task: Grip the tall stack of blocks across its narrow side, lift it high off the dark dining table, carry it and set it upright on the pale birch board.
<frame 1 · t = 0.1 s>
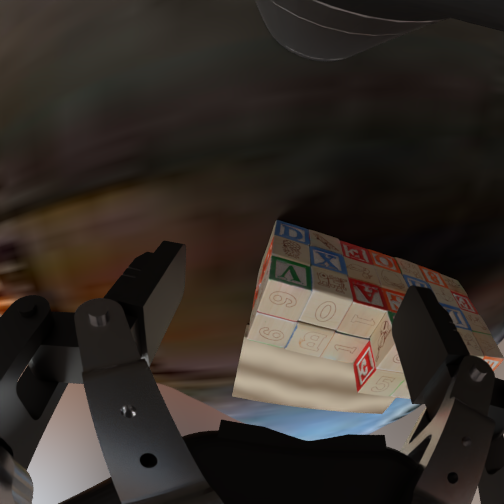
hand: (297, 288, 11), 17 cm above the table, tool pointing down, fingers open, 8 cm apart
stack of blocks: (367, 275, 31), on the table
birch board: (324, 372, 38), on the table
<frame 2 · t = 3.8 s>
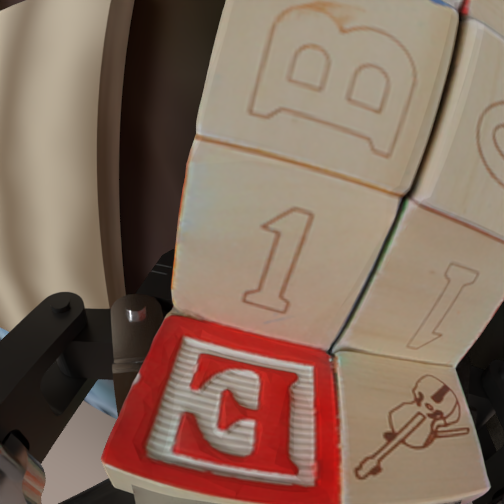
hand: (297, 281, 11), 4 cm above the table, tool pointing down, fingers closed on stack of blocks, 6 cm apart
stack of blocks: (300, 223, 14), on the table, touching gripper
birch board: (36, 193, 15), on the table
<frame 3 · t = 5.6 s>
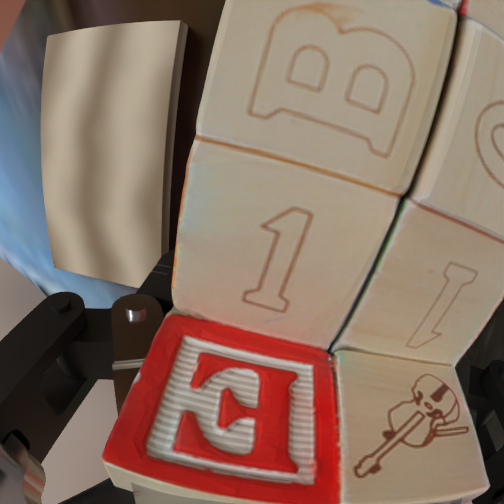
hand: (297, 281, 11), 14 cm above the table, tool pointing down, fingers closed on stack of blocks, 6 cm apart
stack of blocks: (300, 223, 14), point 10 cm above the table, touching gripper
birch board: (106, 156, 24), on the table
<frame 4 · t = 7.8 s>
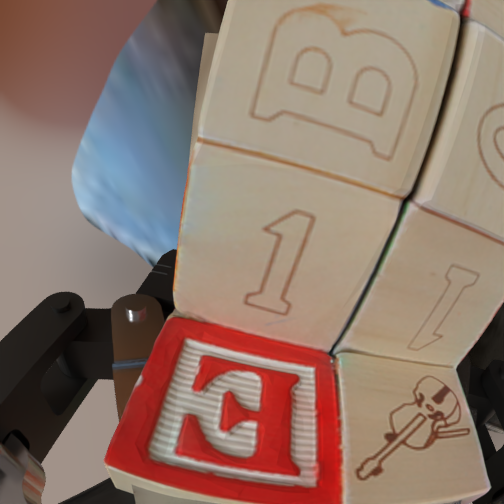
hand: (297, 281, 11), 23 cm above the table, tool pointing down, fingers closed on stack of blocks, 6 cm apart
stack of blocks: (301, 224, 14), point 19 cm above the table, touching gripper
birch board: (254, 146, 31), on the table
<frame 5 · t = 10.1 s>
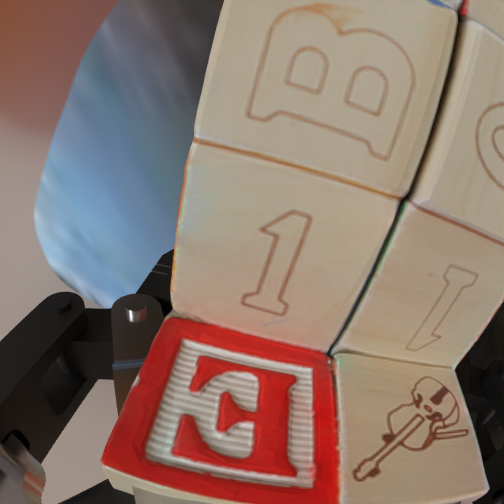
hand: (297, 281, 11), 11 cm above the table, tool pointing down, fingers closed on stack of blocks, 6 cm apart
stack of blocks: (300, 224, 14), point 7 cm above the table, touching gripper
when the fingers open (7 cm above the table, at t = 11.9 s): stack of blocks drops 1 cm, resting on birch board.
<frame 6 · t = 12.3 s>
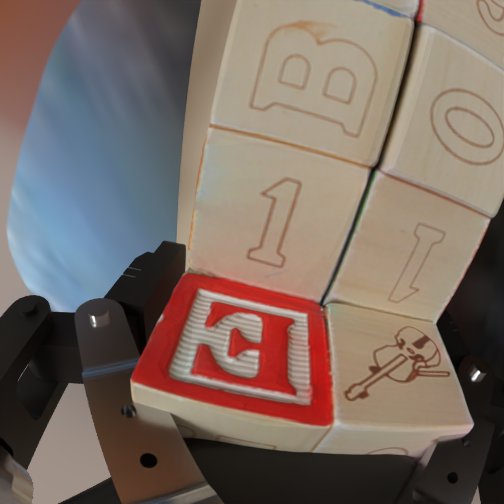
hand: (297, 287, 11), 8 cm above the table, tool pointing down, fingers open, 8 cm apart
stack of blocks: (297, 212, 16), point 2 cm above the table, touching birch board
birch board: (295, 210, 17), on the table
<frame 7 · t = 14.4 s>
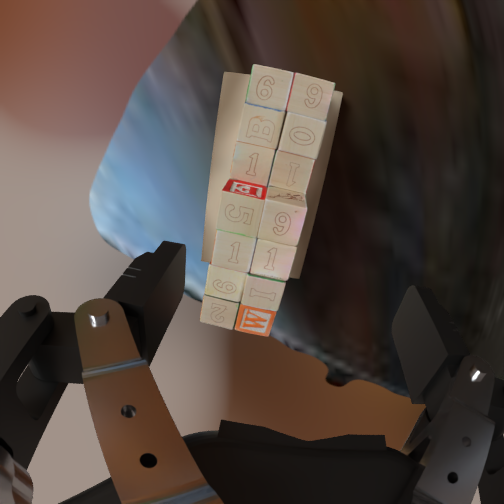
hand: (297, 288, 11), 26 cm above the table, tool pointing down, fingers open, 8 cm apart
stack of blocks: (269, 176, 33), point 2 cm above the table, touching birch board
birch board: (266, 177, 35), on the table
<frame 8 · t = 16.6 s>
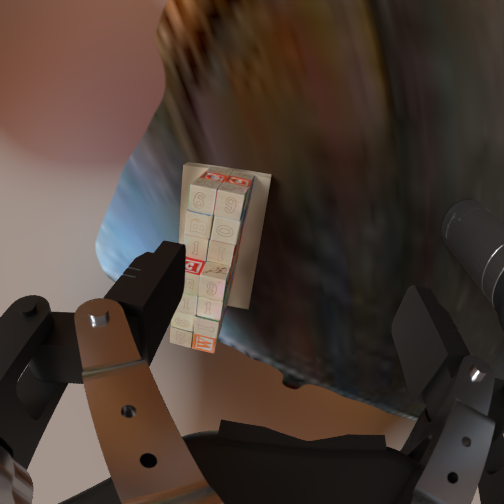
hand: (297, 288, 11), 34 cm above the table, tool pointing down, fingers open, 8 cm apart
stack of blocks: (220, 238, 47), point 2 cm above the table, touching birch board
birch board: (220, 237, 49), on the table
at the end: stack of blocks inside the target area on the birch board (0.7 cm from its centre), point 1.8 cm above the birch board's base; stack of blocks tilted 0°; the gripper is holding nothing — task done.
